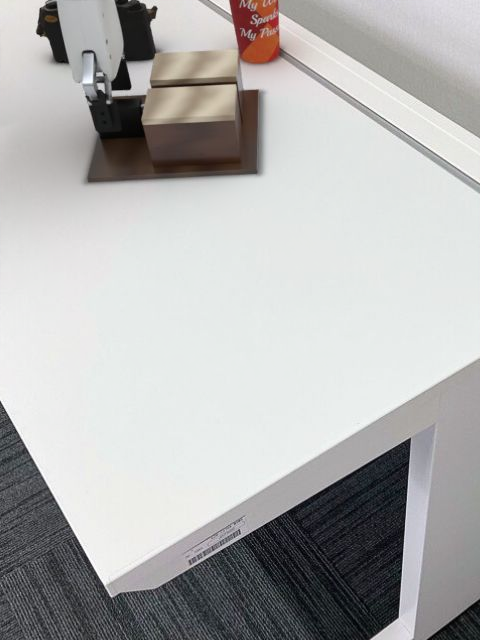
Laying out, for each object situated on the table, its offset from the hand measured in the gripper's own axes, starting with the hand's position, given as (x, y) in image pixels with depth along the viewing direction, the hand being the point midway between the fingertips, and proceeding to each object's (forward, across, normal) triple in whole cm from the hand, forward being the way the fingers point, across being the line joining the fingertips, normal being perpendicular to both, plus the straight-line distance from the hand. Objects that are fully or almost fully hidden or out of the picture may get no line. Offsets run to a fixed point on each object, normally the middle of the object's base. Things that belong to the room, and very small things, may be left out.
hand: (114, 109), depth 98 cm
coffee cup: (+4, -21, +18) cm, 28 cm away
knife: (+3, 0, +6) cm, 7 cm away
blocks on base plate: (+4, 0, +8) cm, 9 cm away
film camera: (+5, -25, -6) cm, 26 cm away
